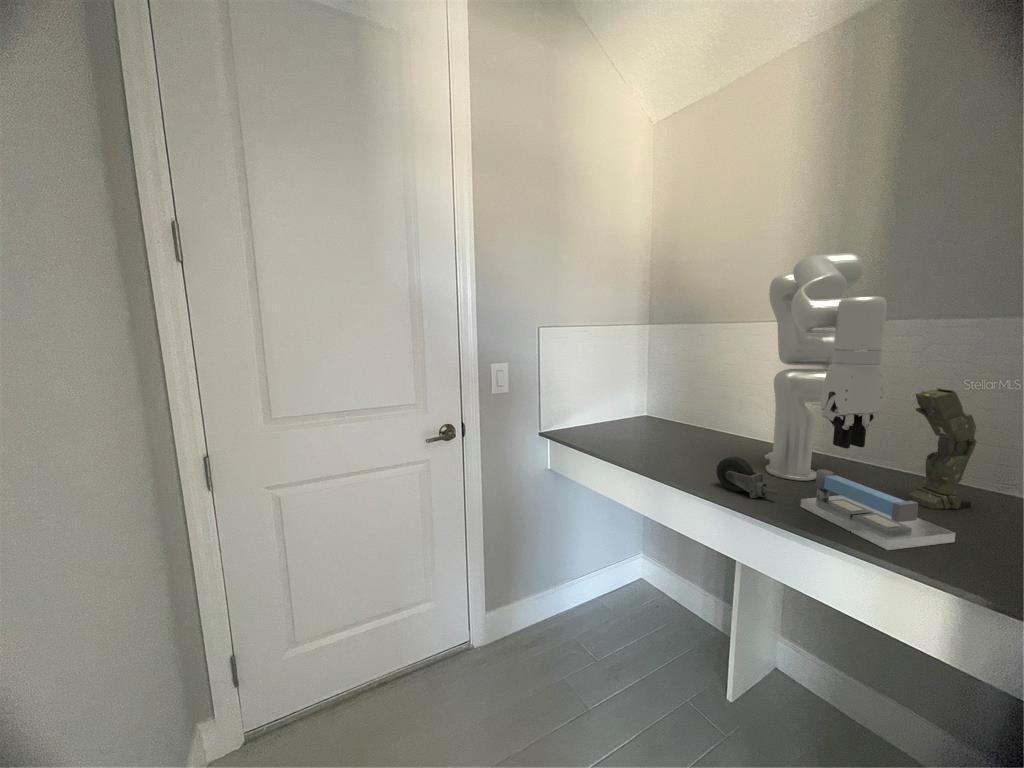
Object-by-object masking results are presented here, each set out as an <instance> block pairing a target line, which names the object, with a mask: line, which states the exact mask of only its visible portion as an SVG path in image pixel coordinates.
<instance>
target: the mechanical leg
mask: <svg viewBox="0 0 1024 768" xmlns="http://www.w3.org/2000/svg"><path fill="white" fill-rule="evenodd" d="M915 397H916V400H917V401H916V402H917V405H918V406H919V407H917V408H915V411H916V412H917V413H918V414H919V413H920V414H921V415H923V417H924V418H925V419H926V420H927V422H928V424H929V425H930V427H931V430H932V431H933V433H934V434H935V435H936V436H937V437H938V440H937V451H934V452H930V453H929V454H928V455H927V456H926V459H925V468H924V469H925V479H924V481H923V482H922V483H921V486H918V487H917V488H916V490H914V491H911V492H909V493H908V501H914V502H917V503H918V505H920V506H922V507H924V508H925V507H926V508H928V509H930V510H939V509H940V510H941V509H943V510H944V509H945V510H946V509H947V510H949V509H953V510H959V508H960V509H968V508H967V507H969V508H972V505H971V502H970V501H967V500H964V499H962V498H959V497H958V496H957V495H958V485H959V483H960V482H961V480H962V478H963V475H964V473H965V470H966V468H967V466H968V463H969V461H970V458H971V456H972V454H973V452H974V450H975V447H976V444H977V439H975V435H976V430H977V425H976V423H975V419H974V417H973V415H972V414H969V413H966V412H964V410H963V406H962V403H961V400H960V398H959V395H958V393H957V391H954V390H953V389H947V388H941V387H940V388H938V387H937V388H936V389H930V390H925V391H924V390H923V391H921V392H918V393H915Z"/></svg>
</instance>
